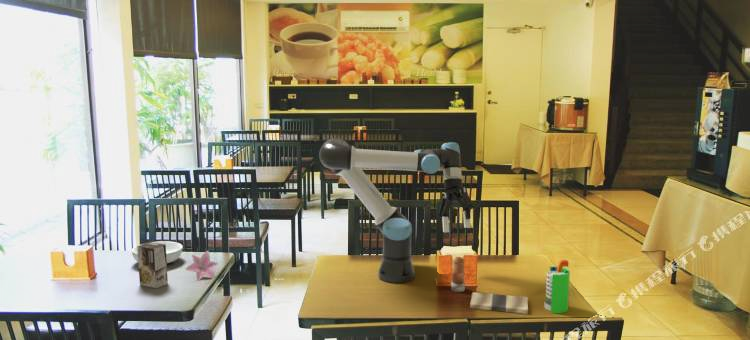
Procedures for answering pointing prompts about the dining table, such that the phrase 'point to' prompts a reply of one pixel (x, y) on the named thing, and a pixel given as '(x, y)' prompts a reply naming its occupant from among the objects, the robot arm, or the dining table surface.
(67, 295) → the dining table surface
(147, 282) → the coffee box
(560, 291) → the green lighter
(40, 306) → the dining table surface
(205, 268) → the lily
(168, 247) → the serving bowl
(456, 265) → the brown rounded cylinder
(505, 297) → the subfloor panel
